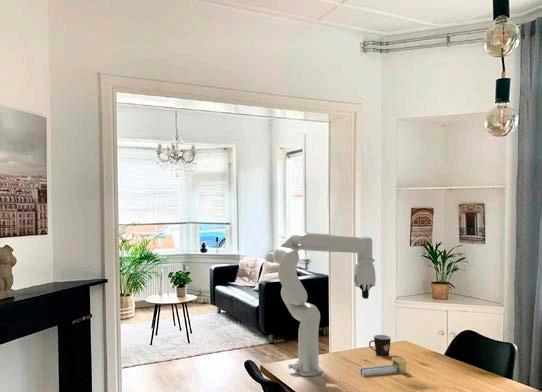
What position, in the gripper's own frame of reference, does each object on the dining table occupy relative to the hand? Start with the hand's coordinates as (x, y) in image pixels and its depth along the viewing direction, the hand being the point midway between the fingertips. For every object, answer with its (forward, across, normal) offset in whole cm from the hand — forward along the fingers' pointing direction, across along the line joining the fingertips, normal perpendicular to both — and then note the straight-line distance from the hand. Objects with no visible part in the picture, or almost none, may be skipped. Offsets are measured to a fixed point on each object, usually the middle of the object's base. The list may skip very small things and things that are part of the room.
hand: (365, 298), depth 212 cm
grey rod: (+31, 0, +16) cm, 35 cm away
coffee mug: (+32, -12, -8) cm, 35 cm away
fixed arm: (+31, +1, +18) cm, 36 cm away
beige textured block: (+31, -8, +17) cm, 36 cm away
